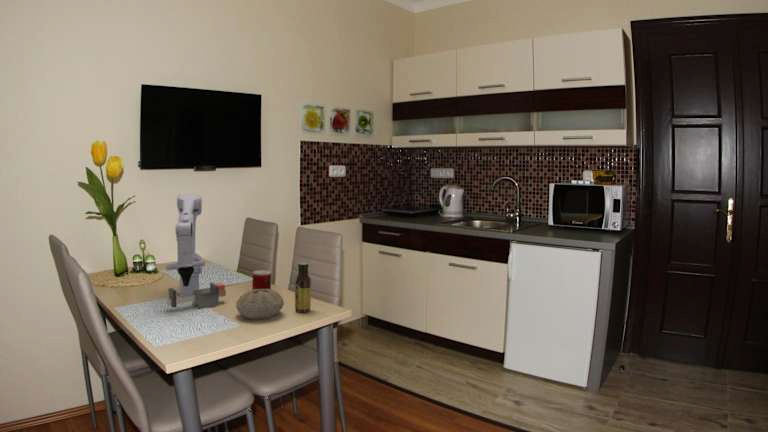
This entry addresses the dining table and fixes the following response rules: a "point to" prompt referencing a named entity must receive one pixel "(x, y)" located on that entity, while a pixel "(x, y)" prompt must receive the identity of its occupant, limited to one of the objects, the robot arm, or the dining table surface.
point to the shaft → (184, 297)
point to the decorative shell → (259, 303)
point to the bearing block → (207, 297)
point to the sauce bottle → (303, 289)
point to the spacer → (221, 287)
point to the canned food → (261, 280)
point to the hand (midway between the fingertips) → (185, 285)
